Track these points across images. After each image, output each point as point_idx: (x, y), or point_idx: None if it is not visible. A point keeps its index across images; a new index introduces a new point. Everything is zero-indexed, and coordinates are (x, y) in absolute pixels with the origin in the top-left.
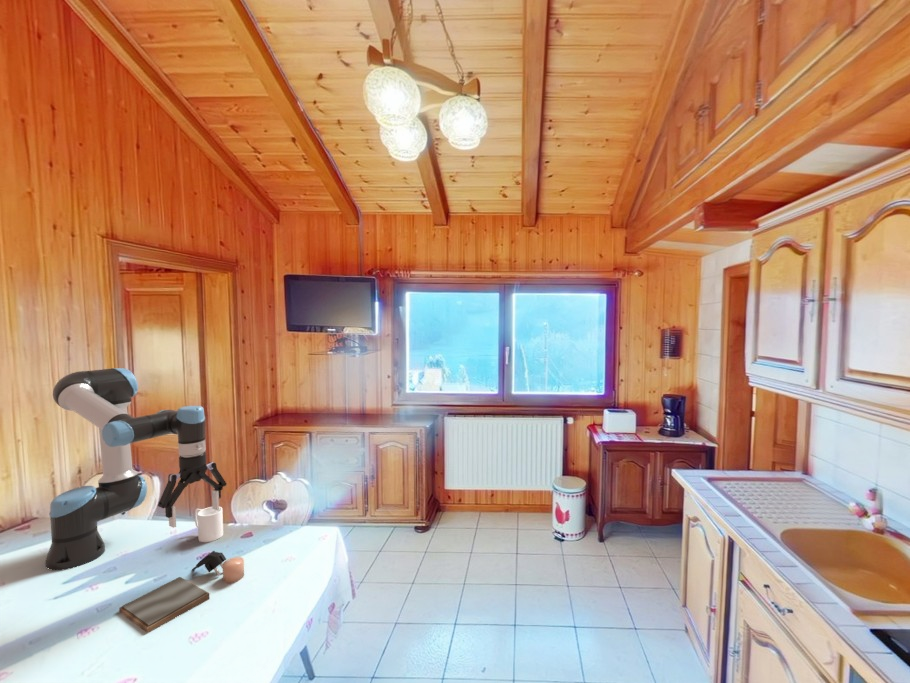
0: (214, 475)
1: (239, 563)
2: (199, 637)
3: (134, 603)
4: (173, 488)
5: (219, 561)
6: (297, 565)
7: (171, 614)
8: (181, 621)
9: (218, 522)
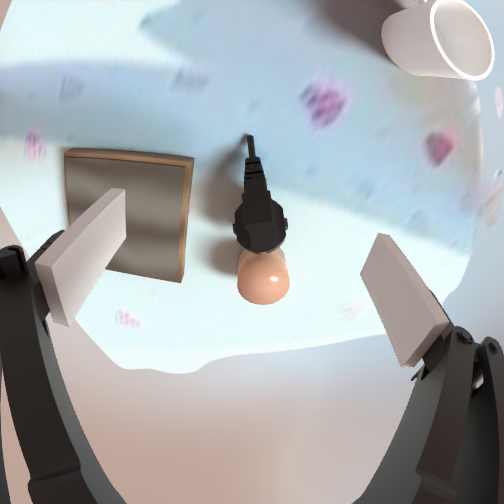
0: (480, 451)
1: (264, 301)
2: (126, 321)
3: (80, 172)
4: (2, 460)
5: (253, 252)
6: (330, 335)
7: (110, 269)
8: (125, 275)
9: (441, 75)
